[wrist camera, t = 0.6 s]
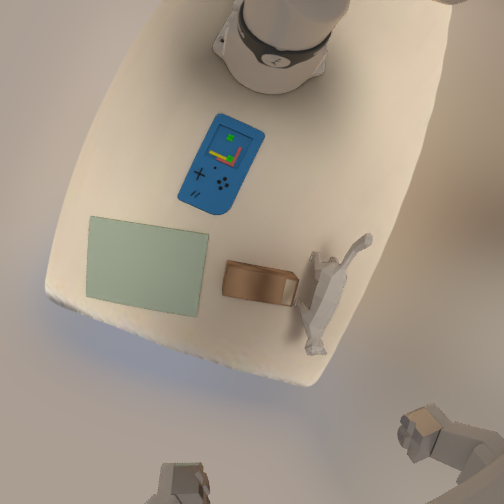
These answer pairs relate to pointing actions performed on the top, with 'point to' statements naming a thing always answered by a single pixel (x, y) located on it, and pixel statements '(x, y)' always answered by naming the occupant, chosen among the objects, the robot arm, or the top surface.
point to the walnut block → (259, 283)
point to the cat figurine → (326, 294)
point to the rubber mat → (145, 265)
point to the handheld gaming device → (221, 165)
